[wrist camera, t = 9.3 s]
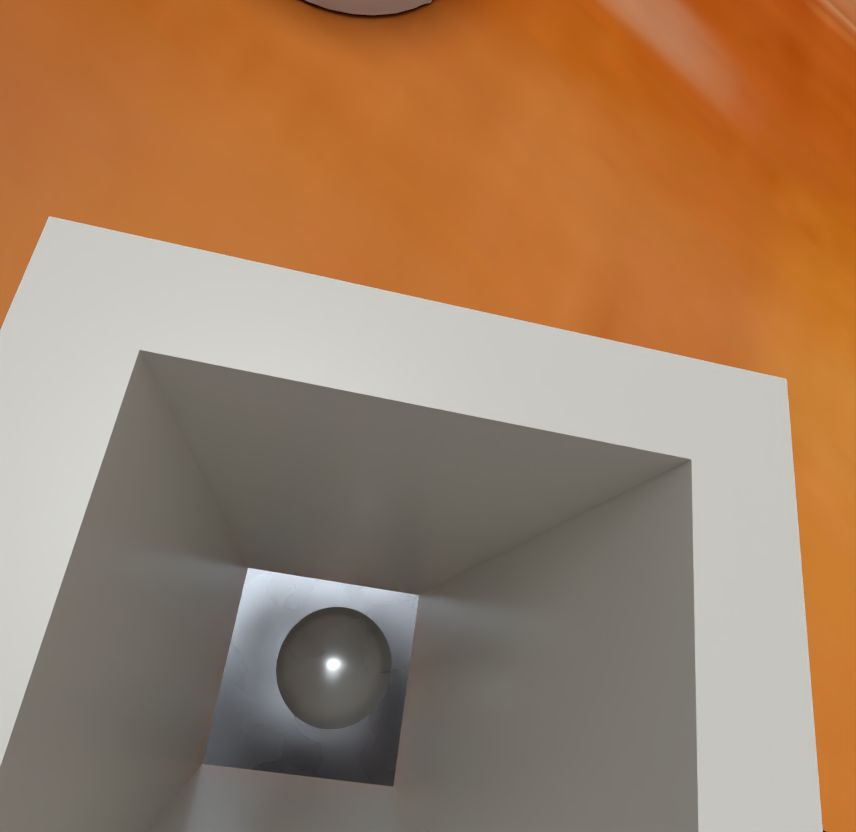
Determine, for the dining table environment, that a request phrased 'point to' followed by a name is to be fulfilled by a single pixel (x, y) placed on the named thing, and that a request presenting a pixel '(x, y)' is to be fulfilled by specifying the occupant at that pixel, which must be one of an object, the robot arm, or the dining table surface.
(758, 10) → the dining table surface
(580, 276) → the dining table surface
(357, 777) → the post stand
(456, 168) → the dining table surface
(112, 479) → the sleeve
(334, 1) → the toilet tissue
